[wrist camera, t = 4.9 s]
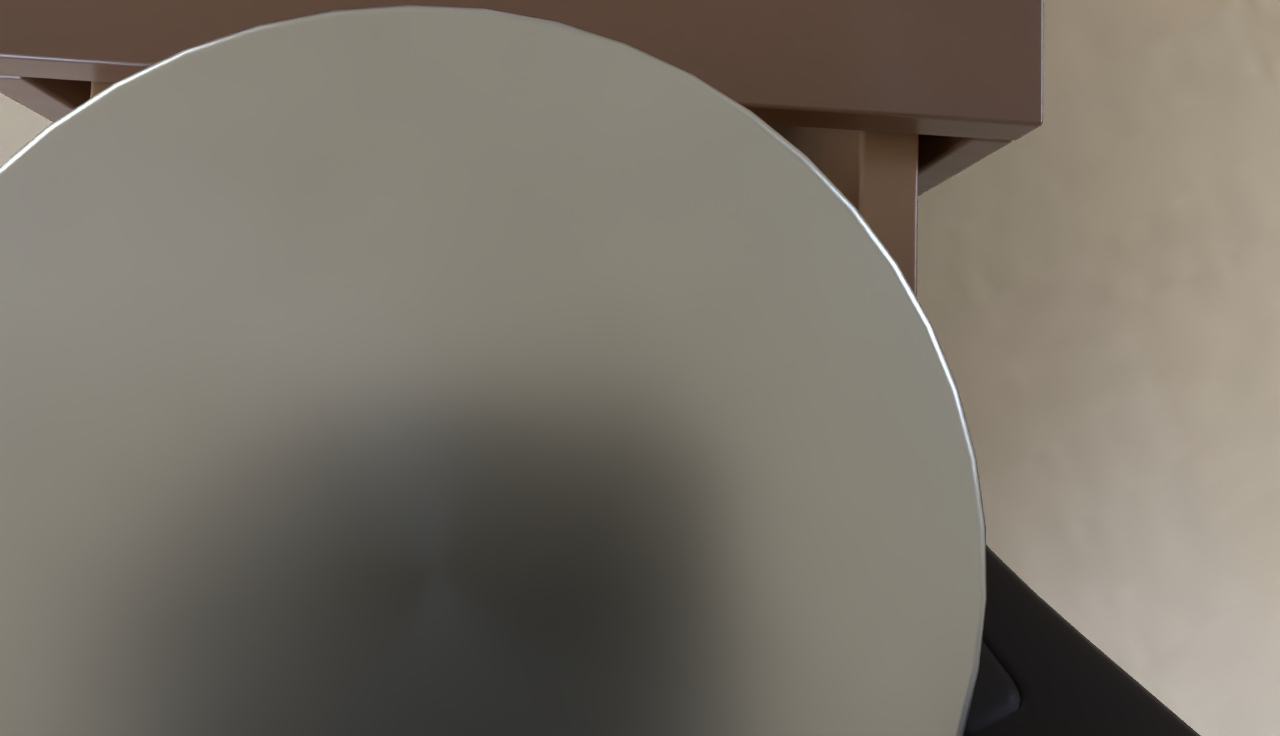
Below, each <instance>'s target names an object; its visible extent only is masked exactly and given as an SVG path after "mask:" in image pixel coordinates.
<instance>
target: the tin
mask: <svg viewBox="0 0 1280 736" xmlns="http://www.w3.org/2000/svg"><path fill="white" fill-rule="evenodd" d="M986 600H987V588H986V526H985V519H984V512H983V505H982V497H981V490H980V483H979V476H978V469H977V461H976V456H975V452H974V448H973V444H972V441H971V437H970V433H969V429H968V426H967V422H966V418H965V415H964V411H963V407H962V403H961V400H960V396H959V392H958V389H957V386H956V384H955V381H954V379H953V376H952V374H951V372H950V369H949V367H948V364H947V362H946V359H945V357H944V354H943V352H942V349H941V347H940V344H939V342H938V340H937V337H936V335H935V332H934V330H933V327H932V325H931V323H930V321H929V319H928V318H927V316H926V314H925V312H924V310H923V309H922V307H921V305H920V303H919V302H918V300H917V298H916V296H915V294H914V293H913V291H912V289H911V287H910V285H909V284H908V282H907V280H906V278H905V277H904V275H903V273H902V271H901V269H900V268H899V266H898V264H897V263H896V261H895V260H894V258H893V257H892V256H891V254H890V253H889V252H888V250H887V249H886V248H885V246H884V245H883V244H882V242H881V241H880V240H879V238H878V237H877V235H876V234H875V233H874V231H873V230H872V229H871V227H870V226H869V225H868V223H867V222H866V221H865V219H864V218H863V217H862V215H861V214H860V212H859V211H858V210H857V208H856V207H855V206H854V205H853V204H852V203H851V202H850V201H849V200H848V199H847V198H846V197H845V196H844V194H843V193H842V192H841V191H840V190H839V189H838V188H837V187H836V186H835V185H834V184H833V183H832V182H831V181H830V180H829V179H828V178H827V177H826V176H825V175H824V174H823V172H822V171H821V170H820V169H819V168H818V167H817V166H816V165H815V164H814V163H813V162H812V161H811V160H810V159H809V158H808V157H807V156H806V155H805V154H804V153H802V152H801V151H800V150H799V149H797V148H796V147H795V146H794V145H793V144H791V143H790V142H789V141H788V140H786V139H785V138H784V137H783V136H782V135H780V134H779V133H778V132H777V131H775V130H774V129H773V128H772V127H770V126H769V125H768V124H767V123H766V122H764V121H763V120H762V119H761V118H759V117H758V116H757V115H756V114H754V113H753V112H752V111H750V110H749V109H747V108H746V107H744V106H742V105H741V104H739V103H738V102H736V101H734V100H733V99H731V98H730V97H728V96H726V95H725V94H723V93H722V92H720V91H718V90H717V89H715V88H713V87H712V86H710V85H709V84H707V83H705V82H704V81H702V80H701V79H699V78H697V77H696V76H694V75H693V74H691V73H689V72H686V71H684V70H682V69H680V68H678V67H676V66H673V65H671V64H669V63H667V62H665V61H663V60H660V59H658V58H656V57H654V56H652V55H650V54H647V53H645V52H643V51H641V50H639V49H637V48H634V47H632V46H630V45H628V44H625V43H622V42H619V41H616V40H613V39H610V38H606V37H603V36H600V35H597V34H594V33H591V32H587V31H584V30H581V29H578V28H575V27H572V26H568V25H565V24H562V23H559V22H555V21H550V20H544V19H539V18H533V17H528V16H522V15H517V14H511V13H506V12H500V11H495V10H489V9H483V8H465V7H447V6H429V5H411V4H409V5H395V6H380V7H366V8H352V9H338V10H330V11H325V12H320V13H315V14H310V15H305V16H300V17H295V18H290V19H285V20H280V21H275V22H270V23H265V24H260V25H256V26H253V27H250V28H247V29H244V30H241V31H238V32H235V33H232V34H229V35H226V36H223V37H220V38H217V39H214V40H211V41H208V42H205V43H202V44H199V45H196V46H193V47H190V48H187V49H185V50H182V51H180V52H178V53H176V54H174V55H172V56H170V57H168V58H166V59H164V60H162V61H160V62H158V63H155V64H153V65H151V66H149V67H147V68H145V69H143V70H141V71H139V72H137V73H135V74H133V75H130V76H128V77H126V78H124V79H122V80H120V81H118V82H116V83H114V84H112V85H111V86H109V87H108V88H106V89H105V90H103V91H102V92H100V93H98V94H97V95H95V96H94V97H92V98H91V99H89V100H88V101H86V102H85V103H83V104H81V105H80V106H78V107H77V108H75V109H74V110H72V111H71V112H69V113H68V114H66V115H65V116H63V117H61V118H60V119H58V120H57V121H55V122H54V123H52V124H51V125H49V126H48V127H46V128H45V129H44V130H43V131H42V132H40V133H39V134H38V135H37V136H36V137H35V138H33V139H32V140H31V141H30V142H29V143H27V144H26V145H25V146H24V147H23V148H22V149H20V150H19V151H18V152H17V153H16V154H15V155H13V156H12V157H11V158H10V159H9V160H7V161H6V162H5V163H4V164H3V165H2V166H0V736H963V735H964V731H965V727H966V722H967V718H968V714H969V710H970V706H971V701H972V697H973V693H974V689H975V684H976V680H977V676H978V672H979V664H980V655H981V646H982V637H983V628H984V618H985V609H986Z"/></svg>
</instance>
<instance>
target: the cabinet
mask: <svg viewBox="0 0 1280 736" xmlns="http://www.w3.org/2000/svg"><path fill="white" fill-rule="evenodd" d="M409 4H411V5H429V6H447V7H465V8H483V9H489V10H495V11H500V12H506V13H511V14H517V15H522V16H528V17H533V18H539V19H544V20H550V21H555V22H559V23H562V24H565V25H568V26H572V27H575V28H578V29H581V30H584V31H587V32H591V33H594V34H597V35H600V36H603V37H606V38H610V39H613V40H616V41H619V42H622V43H625V44H628V45H630V46H632V47H634V48H637V49H639V50H641V51H643V52H645V53H647V54H650V55H652V56H654V57H656V58H658V59H660V60H663V61H665V62H667V63H669V64H671V65H673V66H676V67H678V68H680V69H682V70H684V71H686V72H689V73H691V74H693V75H694V76H696V77H697V78H699V79H701V80H702V81H704V82H705V83H707V84H709V85H710V86H712V87H713V88H715V89H717V90H718V91H720V92H722V93H723V94H725V95H726V96H728V97H730V98H731V99H733V100H734V101H736V102H738V103H739V104H741V105H742V106H744V107H746V108H747V109H749V110H750V111H752V112H753V113H754V114H756V115H757V116H758V117H759V118H761V119H762V120H763V121H764V122H766V123H767V124H768V125H782V126H798V127H813V128H829V129H844V130H860V131H876V132H891V133H907V134H918V196H919V195H921V194H923V193H925V192H926V191H928V190H930V189H931V188H933V187H935V186H937V185H938V184H940V183H942V182H944V181H945V180H947V179H949V178H950V177H952V176H954V175H956V174H957V173H959V172H961V171H962V170H964V169H966V168H968V167H969V166H971V165H973V164H975V163H976V162H978V161H980V160H981V159H983V158H985V157H987V156H988V155H990V154H992V153H993V152H995V151H997V150H999V149H1000V148H1002V147H1004V146H1005V145H1007V144H1009V143H1011V142H1012V140H1017V139H1019V138H1021V137H1022V136H1024V135H1026V134H1027V133H1029V132H1031V131H1033V130H1034V129H1036V128H1038V127H1039V126H1041V125H1042V122H1043V0H0V92H1V93H2V94H4V95H6V96H8V97H9V98H11V99H13V100H15V101H17V102H18V103H20V104H22V105H24V106H26V107H27V108H29V109H31V110H33V111H34V112H36V113H38V114H40V115H42V116H43V117H45V118H47V119H49V120H50V121H52V122H55V121H57V120H58V119H60V118H61V117H63V116H65V115H66V114H68V113H69V112H71V111H72V110H74V109H75V108H77V107H78V106H80V105H81V104H83V103H85V102H86V101H88V100H89V99H90V95H91V81H96V82H111V83H116V82H118V81H120V80H122V79H124V78H126V77H128V76H130V75H133V74H135V73H137V72H139V71H141V70H143V69H145V68H147V67H149V66H151V65H153V64H155V63H158V62H160V61H162V60H164V59H166V58H168V57H170V56H172V55H174V54H176V53H178V52H180V51H182V50H185V49H187V48H190V47H193V46H196V45H199V44H202V43H205V42H208V41H211V40H214V39H217V38H220V37H223V36H226V35H229V34H232V33H235V32H238V31H241V30H244V29H247V28H250V27H253V26H256V25H260V24H265V23H270V22H275V21H280V20H285V19H290V18H295V17H300V16H305V15H310V14H315V13H320V12H325V11H330V10H338V9H352V8H366V7H380V6H395V5H409Z"/></svg>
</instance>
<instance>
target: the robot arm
mask: <svg viewBox="0 0 1280 736" xmlns="http://www.w3.org/2000/svg"><path fill="white" fill-rule="evenodd" d="M986 588H987V600H986V609H985V618H984V628H983V637H982V646H981V655H980V664H979V672H978V676H977V680H976V684H975V689H974V693H973V697H972V701H971V706H970V710H969V714H968V718H967V722H966V727H965V731H964V735H963V736H1200V735H1199V734H1198V733H1197V732H1195V731H1194V730H1193V729H1192V728H1191V727H1190V726H1188V725H1187V724H1186V723H1185V722H1184V721H1183V720H1181V719H1180V718H1179V717H1178V716H1177V715H1176V714H1174V713H1173V712H1172V711H1171V710H1170V709H1169V708H1167V707H1166V706H1165V705H1164V704H1163V703H1162V702H1160V701H1159V700H1158V699H1157V698H1156V697H1155V696H1153V695H1152V694H1151V693H1150V692H1149V691H1147V690H1146V689H1145V688H1144V687H1143V686H1142V685H1140V684H1139V683H1138V682H1137V681H1136V680H1135V679H1133V678H1132V677H1131V676H1130V675H1129V674H1128V673H1126V672H1125V671H1124V670H1123V669H1122V668H1121V667H1119V666H1118V665H1117V664H1116V663H1115V662H1114V661H1112V660H1111V659H1110V658H1109V657H1108V656H1107V655H1105V654H1104V653H1103V652H1102V651H1101V650H1100V649H1098V648H1097V647H1096V646H1095V645H1094V644H1093V643H1091V642H1090V641H1089V640H1088V639H1087V638H1085V637H1084V636H1083V635H1082V634H1081V633H1080V632H1079V631H1078V630H1076V629H1075V628H1074V627H1073V626H1072V625H1071V624H1070V623H1069V622H1067V621H1066V620H1065V619H1064V618H1063V617H1062V616H1061V615H1060V614H1058V613H1057V612H1056V611H1055V610H1054V609H1053V608H1052V607H1051V606H1049V605H1048V604H1047V603H1046V602H1045V601H1044V600H1043V599H1042V598H1040V597H1039V596H1038V595H1037V594H1036V593H1035V592H1034V591H1033V590H1032V589H1031V588H1030V587H1029V586H1028V585H1027V584H1026V583H1025V582H1024V581H1022V580H1021V579H1020V578H1019V577H1018V576H1017V575H1016V574H1015V573H1014V572H1013V571H1012V570H1011V569H1010V568H1009V567H1008V566H1007V565H1006V564H1005V563H1004V562H1003V561H1002V560H1001V559H1000V558H999V557H998V556H997V555H996V554H995V553H994V552H993V551H992V550H991V549H990V548H989V547H988V546H987V545H986Z"/></svg>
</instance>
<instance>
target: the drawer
mask: <svg viewBox="0 0 1280 736" xmlns="http://www.w3.org/2000/svg"><path fill="white" fill-rule="evenodd" d="M112 84H114V83H111V82H96V81H91V95H90V99H91V98H92V97H94V96H95V95H97V94H98V93H100V92H102V91H103V90H105V89H106V88H108V87H109V86H111V85H112ZM769 126H770V127H772V128H773V129H774V130H775V131H777V132H778V133H779V134H780V135H782V136H783V137H784V138H785V139H786V140H788V141H789V142H790V143H791V144H793V145H794V146H795V147H796V148H797V149H799V150H800V151H801V152H802V153H804V154H805V155H806V156H807V157H808V158H809V159H810V160H811V161H812V162H813V163H814V164H815V165H816V166H817V167H818V168H819V169H820V170H821V171H822V172H823V174H824V175H825V176H826V177H827V178H828V179H829V180H830V181H831V182H832V183H833V184H834V185H835V186H836V187H837V188H838V189H839V190H840V191H841V192H842V193H843V194H844V196H845V197H846V198H847V199H848V200H849V201H850V202H851V203H852V204H853V205H854V206H855V207H856V208H857V210H858V211H859V212H860V214H861V215H862V217H863V218H864V219H865V221H866V222H867V223H868V225H869V226H870V227H871V229H872V230H873V231H874V233H875V234H876V235H877V237H878V238H879V240H880V241H881V242H882V244H883V245H884V246H885V248H886V249H887V250H888V252H889V253H890V254H891V256H892V257H893V258H894V260H895V261H896V263H897V264H898V266H899V268H900V269H901V271H902V273H903V275H904V277H905V278H906V280H907V282H908V284H909V285H910V287H911V289H912V291H913V293H914V294H915V296H916V298H917V220H918V134H907V133H891V132H876V131H860V130H844V129H829V128H813V127H798V126H782V125H769Z"/></svg>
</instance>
